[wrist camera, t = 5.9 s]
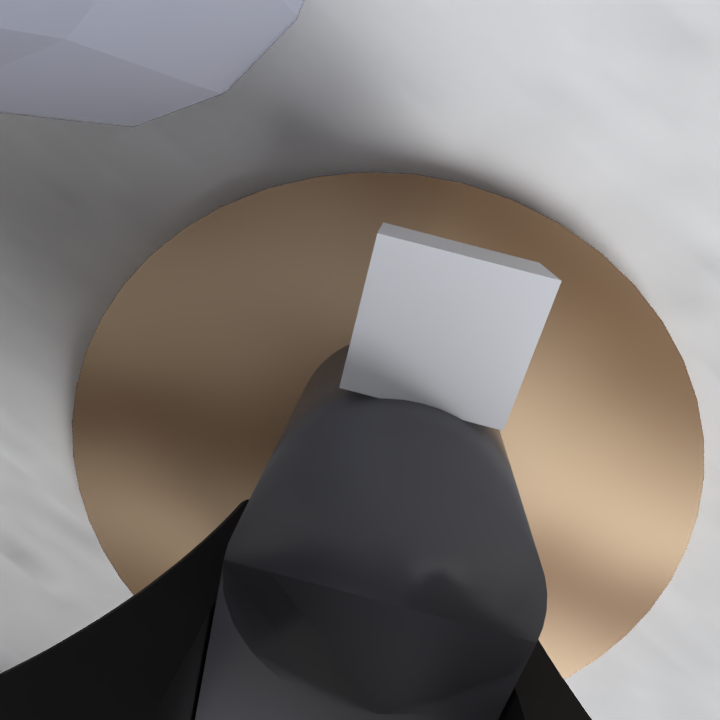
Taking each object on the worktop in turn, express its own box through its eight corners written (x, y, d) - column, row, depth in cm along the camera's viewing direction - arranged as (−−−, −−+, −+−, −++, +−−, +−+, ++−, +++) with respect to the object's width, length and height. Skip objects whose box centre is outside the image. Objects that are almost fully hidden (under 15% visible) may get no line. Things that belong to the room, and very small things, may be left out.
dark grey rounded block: (404, 672, 14) (399, 915, 10) (250, 631, 14) (170, 853, 10) (563, 258, 10) (690, 337, 5) (344, 201, 10) (282, 233, 6)
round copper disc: (548, 745, 17) (554, 771, 16) (78, 618, 17) (63, 639, 16) (820, 277, 11) (849, 285, 11) (107, 89, 11) (86, 85, 11)
